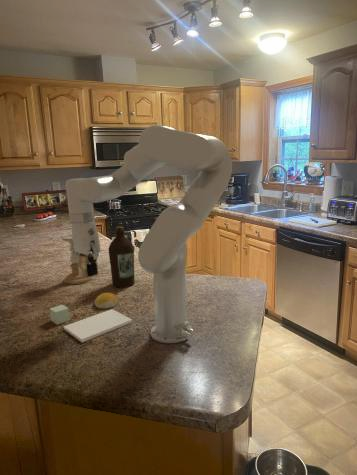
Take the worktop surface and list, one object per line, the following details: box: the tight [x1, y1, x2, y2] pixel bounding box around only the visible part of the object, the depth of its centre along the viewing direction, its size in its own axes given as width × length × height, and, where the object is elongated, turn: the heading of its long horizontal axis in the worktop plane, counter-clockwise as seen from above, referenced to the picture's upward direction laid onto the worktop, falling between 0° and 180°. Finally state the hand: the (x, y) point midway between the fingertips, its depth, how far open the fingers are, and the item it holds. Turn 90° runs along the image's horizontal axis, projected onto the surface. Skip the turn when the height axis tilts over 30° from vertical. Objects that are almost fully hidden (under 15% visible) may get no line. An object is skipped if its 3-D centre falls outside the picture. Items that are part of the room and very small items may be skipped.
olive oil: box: [108, 226, 135, 288], centre depth 149 cm, size 11×11×25 cm
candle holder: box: [61, 234, 93, 285], centre depth 156 cm, size 12×12×20 cm
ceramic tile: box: [63, 309, 133, 343], centre depth 113 cm, size 12×18×1 cm, turn 133°
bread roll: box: [94, 292, 118, 309], centre depth 131 cm, size 8×9×4 cm
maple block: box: [77, 252, 99, 278], centre depth 113 cm, size 4×4×7 cm
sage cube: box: [49, 304, 71, 326], centre depth 118 cm, size 4×4×4 cm
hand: (88, 273), depth 114 cm, fingers closed on maple block, 4 cm apart
